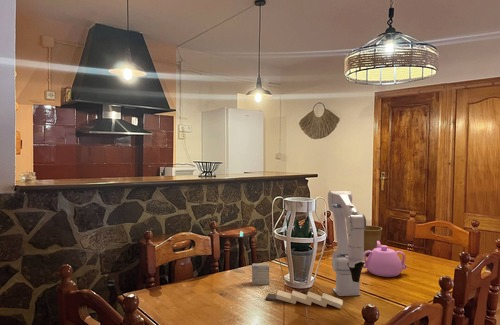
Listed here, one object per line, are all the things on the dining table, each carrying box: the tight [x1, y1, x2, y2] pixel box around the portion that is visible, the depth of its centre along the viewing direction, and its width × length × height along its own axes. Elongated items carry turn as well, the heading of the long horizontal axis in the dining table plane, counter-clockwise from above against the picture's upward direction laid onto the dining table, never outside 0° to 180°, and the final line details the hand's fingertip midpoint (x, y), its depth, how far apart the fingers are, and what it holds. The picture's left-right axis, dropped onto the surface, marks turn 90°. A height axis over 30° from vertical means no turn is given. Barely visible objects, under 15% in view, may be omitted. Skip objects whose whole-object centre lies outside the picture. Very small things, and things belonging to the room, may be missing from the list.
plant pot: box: [363, 225, 383, 257], centre depth 216 cm, size 15×15×16 cm
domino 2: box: [276, 289, 297, 305], centre depth 145 cm, size 2×5×8 cm
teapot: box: [362, 240, 408, 278], centre depth 182 cm, size 22×22×14 cm
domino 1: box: [265, 293, 286, 303], centre depth 147 cm, size 2×5×8 cm
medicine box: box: [251, 262, 270, 286], centre depth 166 cm, size 8×4×9 cm, turn 92°
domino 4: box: [306, 291, 328, 308], centre depth 142 cm, size 2×5×8 cm
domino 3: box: [291, 290, 313, 306], centre depth 144 cm, size 2×5×8 cm
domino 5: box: [321, 292, 344, 309], centre depth 141 cm, size 2×5×8 cm
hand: (355, 281), depth 138 cm, fingers closed
